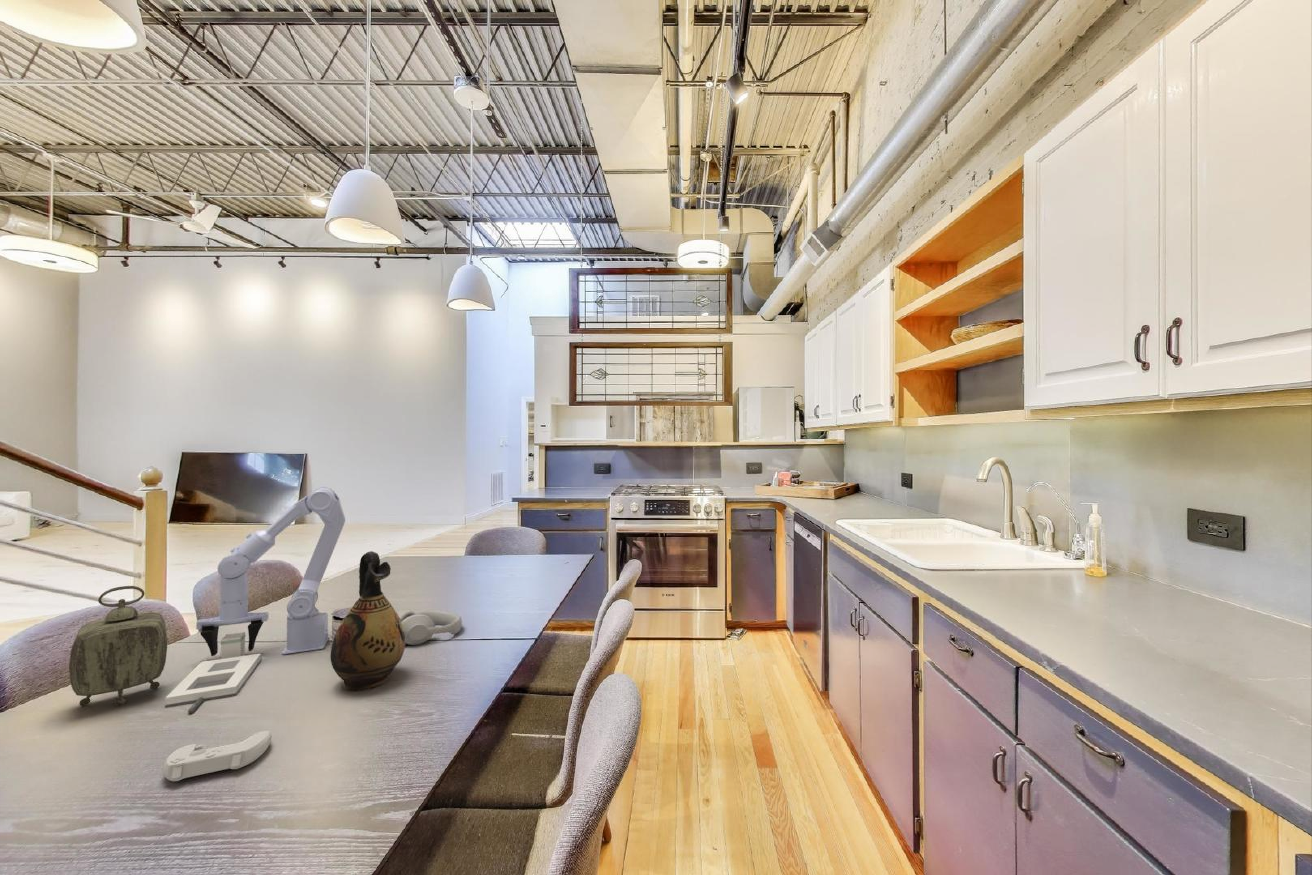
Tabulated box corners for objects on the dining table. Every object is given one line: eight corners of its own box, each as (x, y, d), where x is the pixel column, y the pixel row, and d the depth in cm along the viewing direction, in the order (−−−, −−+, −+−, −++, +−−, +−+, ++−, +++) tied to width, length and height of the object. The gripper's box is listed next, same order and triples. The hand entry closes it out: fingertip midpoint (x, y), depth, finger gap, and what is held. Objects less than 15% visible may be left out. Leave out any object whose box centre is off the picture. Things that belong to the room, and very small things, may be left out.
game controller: (276, 723, 97) (260, 739, 88) (274, 749, 96) (258, 767, 87) (178, 741, 91) (150, 760, 82) (175, 768, 90) (147, 790, 81)
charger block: (245, 654, 136) (245, 632, 136) (240, 660, 132) (240, 637, 132) (225, 657, 134) (226, 634, 134) (220, 663, 130) (220, 639, 130)
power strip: (260, 661, 131) (260, 652, 131) (226, 707, 108) (226, 697, 108) (201, 669, 126) (201, 661, 126) (151, 721, 103) (152, 710, 103)
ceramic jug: (415, 680, 121) (416, 553, 121) (342, 704, 109) (343, 564, 110) (389, 659, 132) (389, 544, 133) (320, 679, 121) (321, 553, 121)
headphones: (410, 651, 136) (472, 638, 153) (414, 621, 137) (475, 611, 154) (372, 637, 146) (434, 626, 162) (376, 609, 147) (438, 601, 163)
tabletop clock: (166, 684, 119) (167, 576, 119) (166, 697, 112) (168, 584, 113) (72, 706, 109) (74, 589, 109) (66, 722, 102) (68, 598, 103)
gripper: (271, 592, 140) (270, 642, 140) (204, 599, 134) (203, 651, 133) (264, 599, 133) (263, 651, 133) (193, 606, 127) (192, 661, 127)
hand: (233, 652), depth 133 cm, fingers open, 7 cm apart
